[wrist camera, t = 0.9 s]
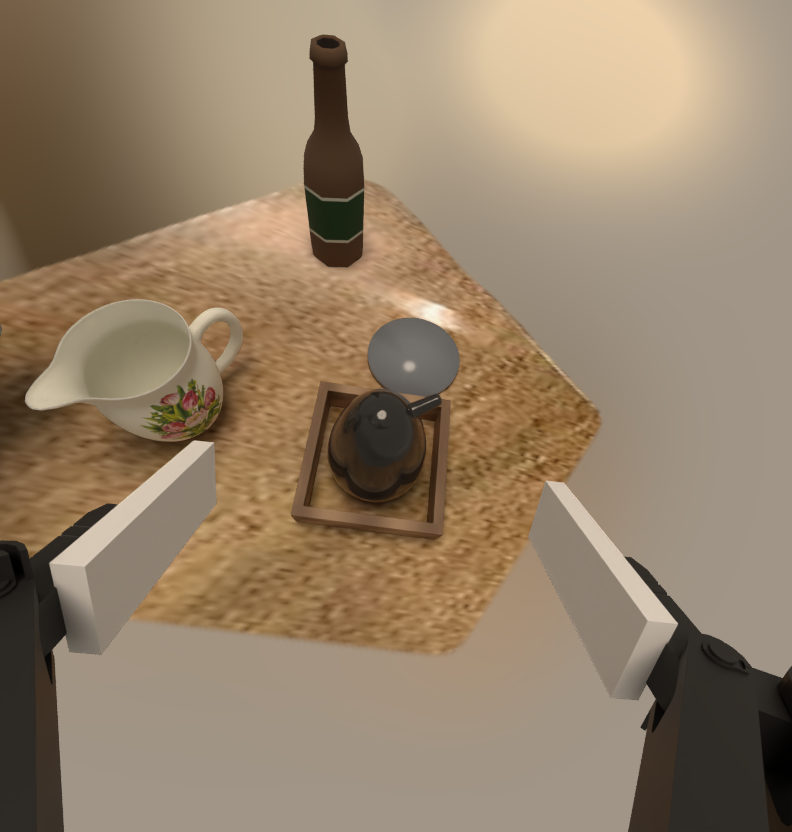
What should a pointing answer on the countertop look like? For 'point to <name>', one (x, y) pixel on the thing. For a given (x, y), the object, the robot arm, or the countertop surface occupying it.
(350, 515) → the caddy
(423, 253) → the countertop surface
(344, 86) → the beer bottle
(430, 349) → the coaster
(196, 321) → the pitcher
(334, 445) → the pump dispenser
